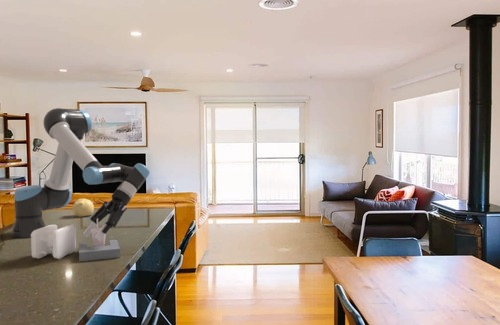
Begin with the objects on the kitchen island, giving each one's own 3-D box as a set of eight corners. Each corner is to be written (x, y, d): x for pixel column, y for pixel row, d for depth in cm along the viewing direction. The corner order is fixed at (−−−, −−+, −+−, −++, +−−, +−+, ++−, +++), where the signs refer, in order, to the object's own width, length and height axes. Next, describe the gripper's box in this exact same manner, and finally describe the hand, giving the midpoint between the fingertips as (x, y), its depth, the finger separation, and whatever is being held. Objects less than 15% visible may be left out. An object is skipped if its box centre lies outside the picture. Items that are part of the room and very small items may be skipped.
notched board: (79, 251, 174) (78, 242, 174) (116, 247, 180) (116, 239, 180) (79, 261, 159) (78, 252, 159) (120, 257, 165) (120, 248, 165)
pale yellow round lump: (72, 215, 255) (72, 197, 255) (93, 213, 260) (92, 196, 260) (73, 218, 245) (72, 200, 244) (94, 216, 250) (94, 198, 249)
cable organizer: (55, 261, 159) (55, 231, 159) (30, 260, 161) (29, 230, 160) (76, 251, 174) (76, 223, 173) (53, 250, 175) (52, 223, 175)
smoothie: (93, 249, 176) (93, 216, 175) (108, 249, 176) (108, 216, 175) (88, 254, 169) (88, 220, 168) (104, 254, 170) (104, 220, 169)
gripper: (144, 201, 177) (111, 246, 166) (115, 197, 190) (83, 239, 178) (133, 190, 173) (99, 236, 161) (104, 186, 186) (70, 228, 174)
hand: (91, 237), depth 170 cm, fingers open, 8 cm apart
